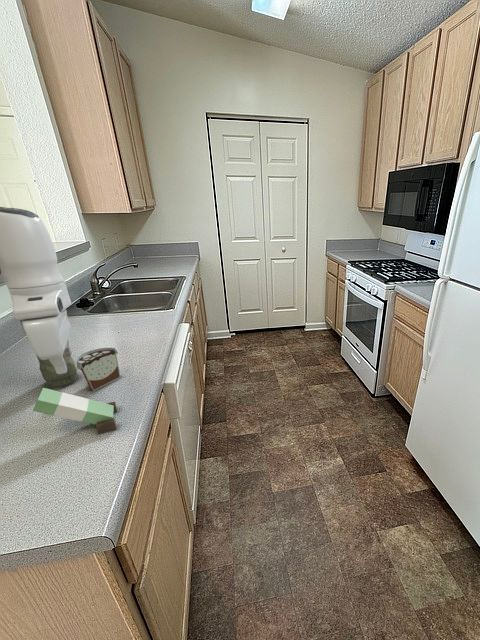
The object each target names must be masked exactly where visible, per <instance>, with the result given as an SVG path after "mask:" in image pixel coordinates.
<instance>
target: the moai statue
mask: <svg viewBox="0 0 480 640" xmlns="http://www.w3.org/2000/svg"><path fill="white" fill-rule="evenodd" d="M19 322H20V324H21V327H22V329H23V332H24V334H25V335H26V333H25V330H24V328H23V325H22V320H19ZM35 355H36V354H35ZM36 358H37V361H38V363H39V371H40V373H41V376H42V378H43V380H44V381H45V383H46V386H47V388H48V389H60V388H61V389H62V388H66V387H68V386H71V385H73V384H75V383H76V382H77V381H78V380H79V379H80V376H79V373H78V368H77V365H76V363H75V361H74V358H73V357H72V355H71V356H70V357H67V358H63V359H64V361H65V362H66V365H67V368H68V369H67V372H66V373H63V374H57V373H56V371H55V368H54V366H53V365H52V363H51V362H50V361H49V359H47V360H41V359H40V358H39V357H38V356H37V355H36Z"/></svg>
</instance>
